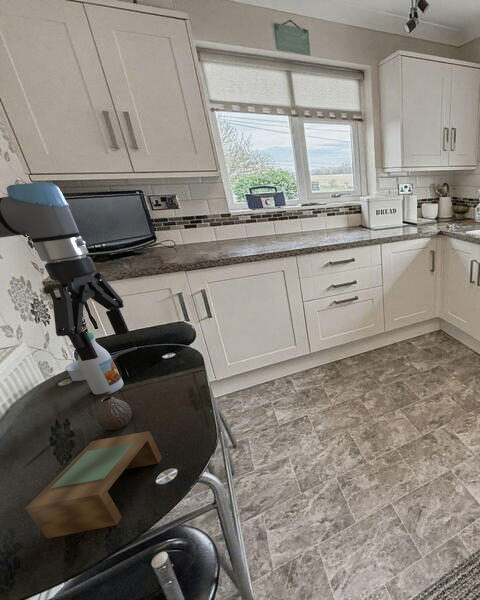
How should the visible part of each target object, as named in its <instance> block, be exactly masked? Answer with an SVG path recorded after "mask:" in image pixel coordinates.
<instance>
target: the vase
mask: <svg viewBox="0 0 480 600" xmlns="http://www.w3.org/2000/svg"><path fill="white" fill-rule="evenodd" d="M132 417H133V411H132V408H131V406H130V405H129V404H128V402H126V401H124V400H122V399H119V398H116V397H114V396H112V395H110V396H109V395H108V396H106V397H103V398H102V399H101V400H100V405H99V407H98V409H97V412H96V420H97V423H98V424H99V426H100V427H101V428H103V429H104V430H107V431H117V430H122V429H123V428H125V427H126V426H127V425H128V424H129V423H130V421H131V420H132Z"/></svg>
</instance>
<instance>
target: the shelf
mask: <svg viewBox="0 0 480 600" xmlns="http://www.w3.org/2000/svg"><path fill="white" fill-rule="evenodd" d="M153 437H154V436H152V433H151V431H150V430H147V431H142V432H137V433H136V432H135V433H130V434H125V435H119V436H114V437H107V438H101V439H95V440H92V441H91V442H89V443H88V444H87V446H86V447H85V448H83V450H82V451H81V452H80V453H78V455H76V457H74V458H73V459H72V461H71V462H70V463H68V465H66V466H65V467H64V469H63V470H62V471H61V472H59V473H58V474H57V476H55V478H54V479H53V480H51V482H49V484H47V486H46V487H44V489H43V490H42V491H41V492H40V493H39V494H38V495H36V497H35V498H34V499H33V500H32V501H30V503H29V504H28V505H27V506H26V507H25V508H24V509H25V511H26V512H27V513H28V514H29V516H30V517H31V518H32V520H33V521H34V523H35V524H36V526H37V527H38V529H39V530H40V531H41V532H42V535H44V537H45V538H46V539H49V540H50V539H52V538H58V537H64V536H68V535H72V534H73V535H74V534H77V533H82V532H87V531H93V530H98V529H103V528H108V527H113V526H114V527H115V526H117V525H118V524H119V523H120V521H121V519H122V518H123V516H122V515H121V512H120V511H119V509H118V507H117V505H116V504H115V502H114V500H113V499H112V497H111V496H110V493H109V492H108V491H109V490H110V489H111V488H112V486H113V485H114V484H115V483H116V481H117V480H118V479H119V477H120V476H121V475H122V473H123V472H124V471H125V470H130V469H136V468H142V467H145V466H146V467H147V466H152V465H158V464H159V463H160V462H161V461H162V459H163V457H162V455H161V453H160V451H159V448H158V446H157V444H156V442H155V439H154V438H153Z"/></svg>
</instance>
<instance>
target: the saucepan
mask: <svg viewBox="0 0 480 600" xmlns="http://www.w3.org/2000/svg"><path fill="white" fill-rule="evenodd" d="M133 351H137V347H136V346H134V347H131V348H128V349H126V350H122V351H119V352H117V353H115V354H113V355H112V354H110V356H111V358H112V360H113V361H115V360H116V359H117V358H119V356H122V355H124V354H127V353H131V352H133ZM64 370H65V371H67V373H68V375H69V376H70V378H71V381H73V382H82V381H86V379H85V377H84V375H83V373H82V371H81V369H80V366H79V364H78V359H77V360H75V361H73V362H71V363H69V364H67V365H66V366H65V367H64Z"/></svg>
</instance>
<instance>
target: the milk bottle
mask: <svg viewBox="0 0 480 600" xmlns="http://www.w3.org/2000/svg"><path fill="white" fill-rule="evenodd" d="M86 333H87V335H88V337H89V339H90V341H91V343H92V345H93V347H94V349H95V351H96V353H97V355H98V358H96V359H91V360H86V361H82V360H81V358H80V356H79V354H78V353H77V354H78V355H77V360H78V364H79V366H80V369H81V371H82V373H83V375H84V377H85V379H86V380H85V381H86V382H87V385H88V386H89V389H90V390H91V392H92V393H93V395H103V394H105V396H109V395H110V394H113V393H115V392H118V391H119V390H120V389H122V388H123V386H124V381H123V379H122V376H121V374H120V373H119V370H118V368H117V366H116V364H115V362H114V360H112V358H111V354H110V353H109V351H108V350H107V349H105V348H104V347H103V346H101V345H100V344H99V343H98V342H97V341H96V338H95V335H94V333H93V332H86Z"/></svg>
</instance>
